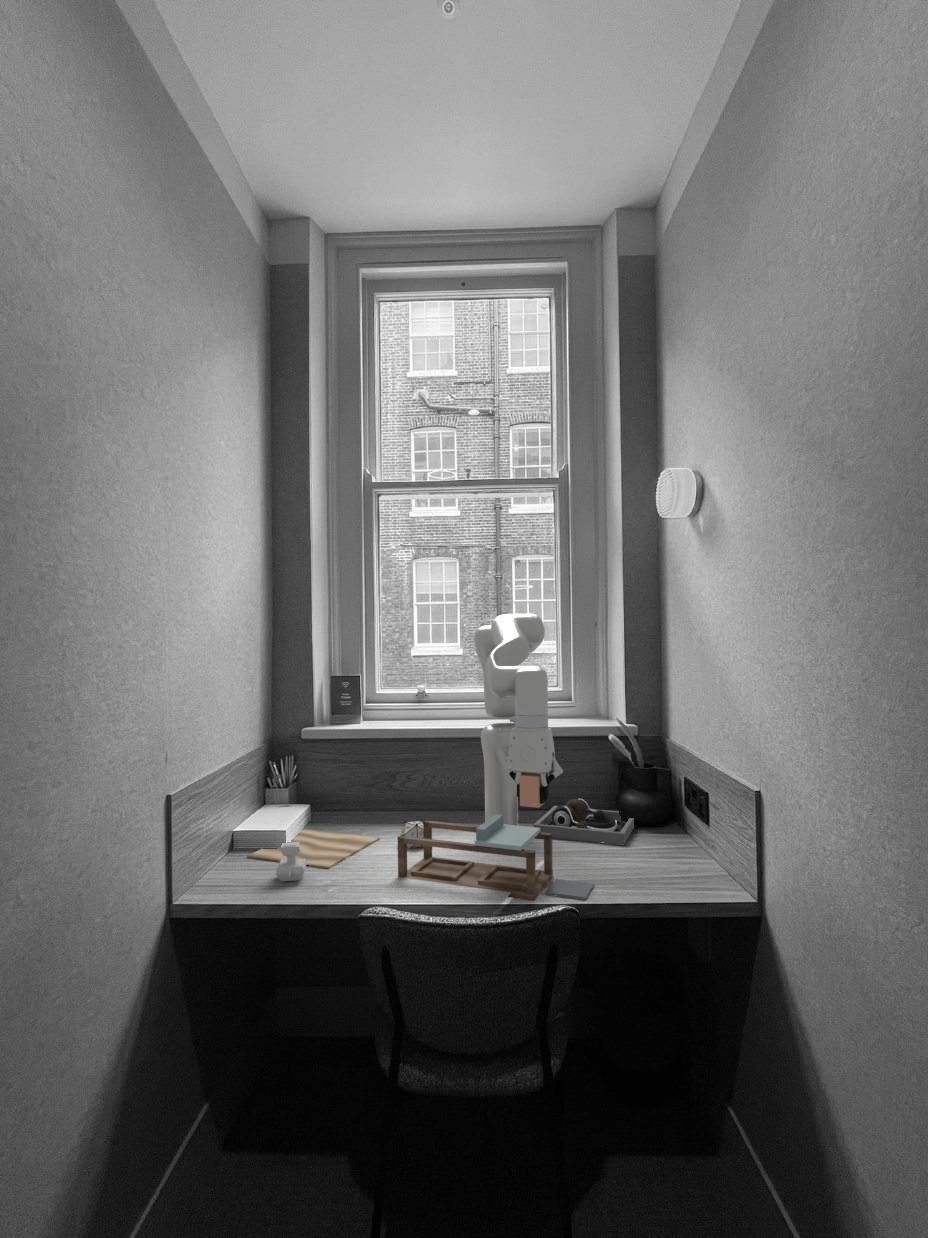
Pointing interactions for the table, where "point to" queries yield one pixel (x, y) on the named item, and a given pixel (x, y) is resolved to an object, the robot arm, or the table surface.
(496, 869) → the frame
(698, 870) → the table surface
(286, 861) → the stamp
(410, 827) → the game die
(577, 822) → the headset
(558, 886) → the coaster
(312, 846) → the cork mat
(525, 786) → the block
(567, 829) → the tray rim
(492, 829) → the lid
